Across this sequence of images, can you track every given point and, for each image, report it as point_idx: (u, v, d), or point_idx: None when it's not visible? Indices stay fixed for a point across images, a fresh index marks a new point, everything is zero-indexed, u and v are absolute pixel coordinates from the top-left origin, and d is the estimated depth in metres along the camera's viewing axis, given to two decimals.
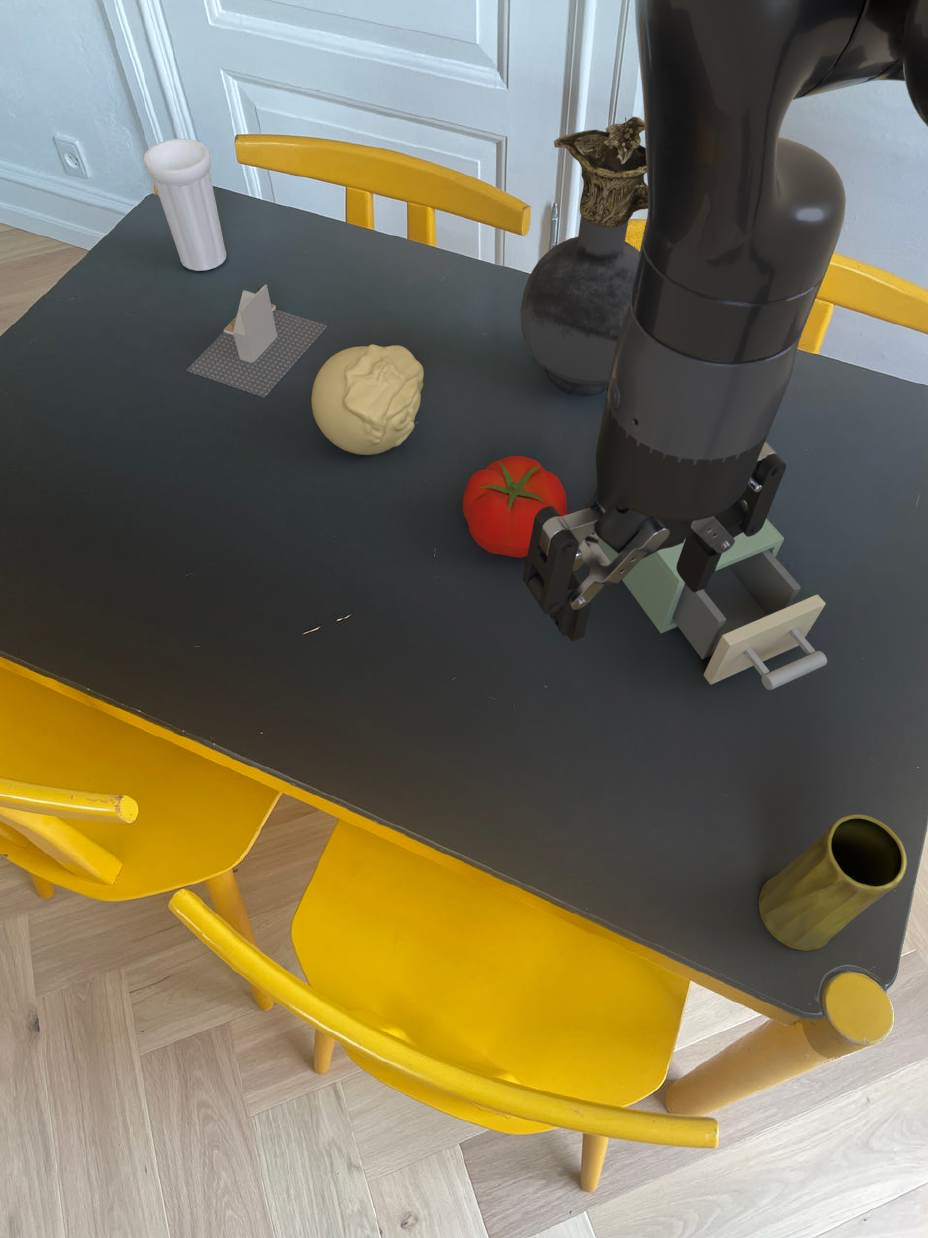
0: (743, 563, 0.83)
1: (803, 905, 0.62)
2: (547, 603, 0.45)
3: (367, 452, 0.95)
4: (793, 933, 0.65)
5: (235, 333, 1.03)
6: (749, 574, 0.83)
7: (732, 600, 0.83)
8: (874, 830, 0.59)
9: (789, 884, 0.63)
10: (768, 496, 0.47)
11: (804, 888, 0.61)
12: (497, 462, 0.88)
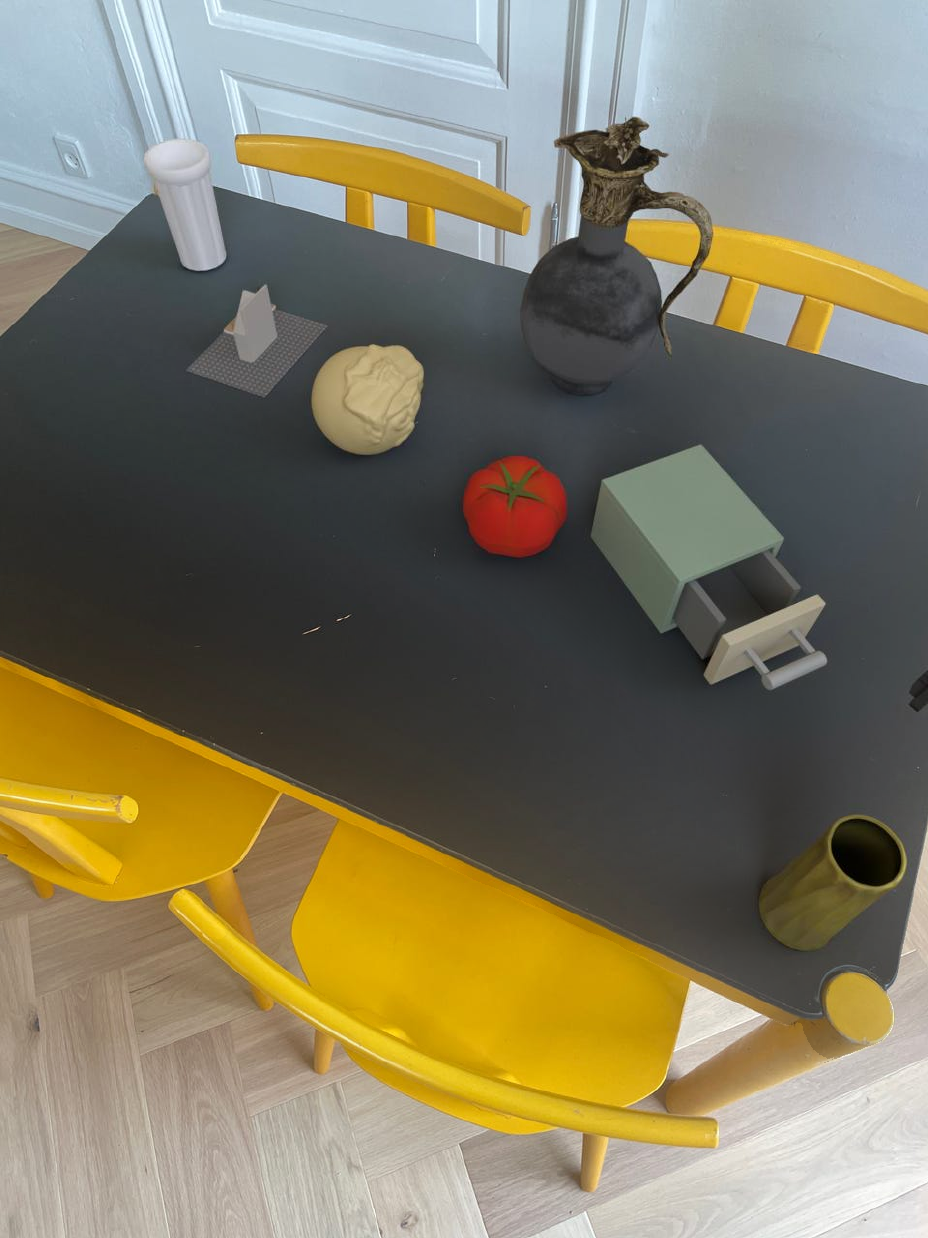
0: (743, 563, 0.83)
1: (803, 905, 0.62)
2: None
3: (367, 452, 0.95)
4: (793, 933, 0.65)
5: (235, 333, 1.03)
6: (749, 574, 0.83)
7: (732, 600, 0.83)
8: (874, 830, 0.59)
9: (789, 884, 0.63)
10: None
11: (804, 888, 0.61)
12: (497, 462, 0.88)
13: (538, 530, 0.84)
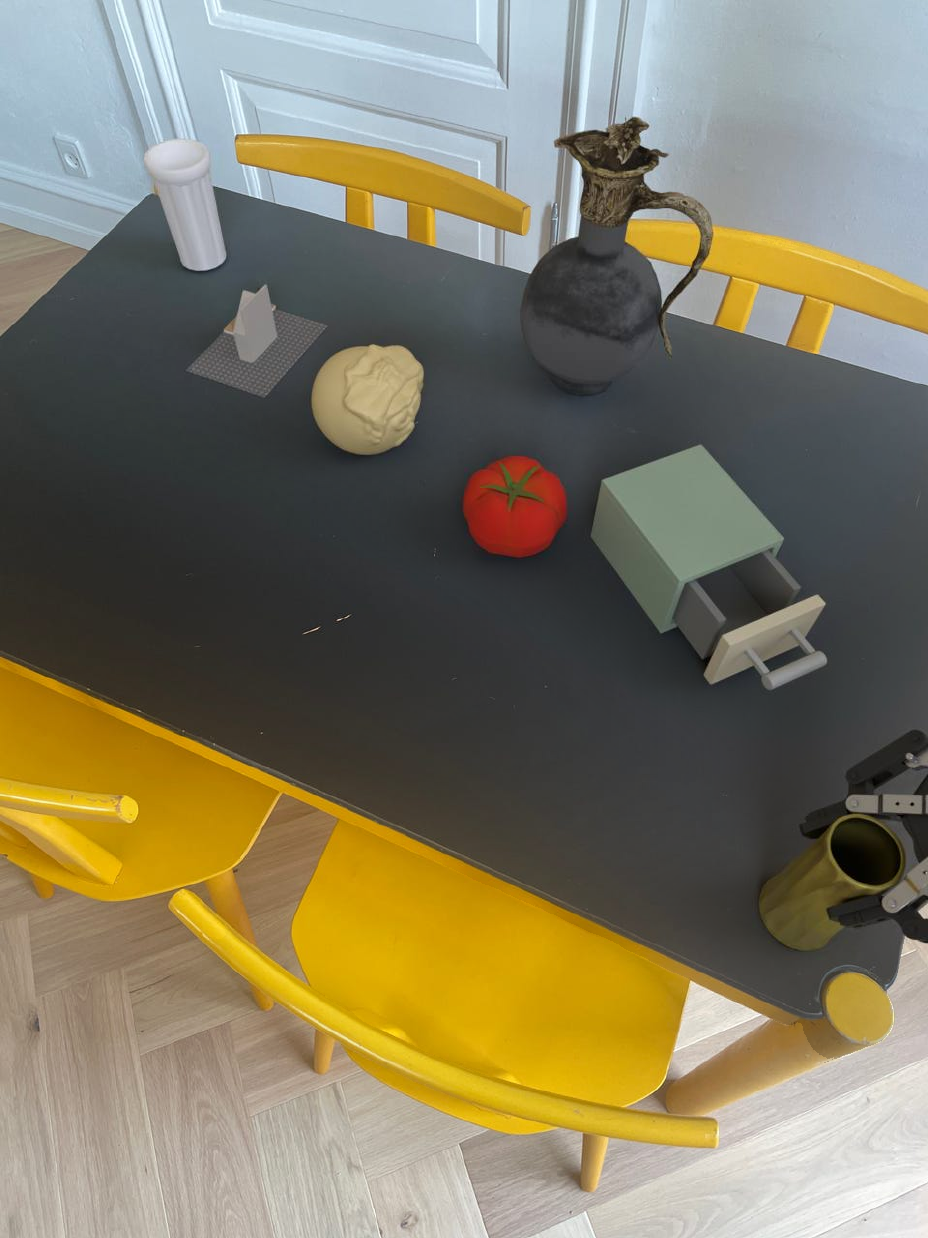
0: (743, 563, 0.83)
1: (803, 905, 0.62)
2: (859, 767, 0.60)
3: (367, 452, 0.95)
4: (793, 933, 0.65)
5: (235, 333, 1.03)
6: (749, 574, 0.83)
7: (732, 600, 0.83)
8: (874, 829, 0.59)
9: (789, 884, 0.63)
10: None
11: (804, 888, 0.61)
12: (497, 462, 0.88)
13: (538, 530, 0.84)
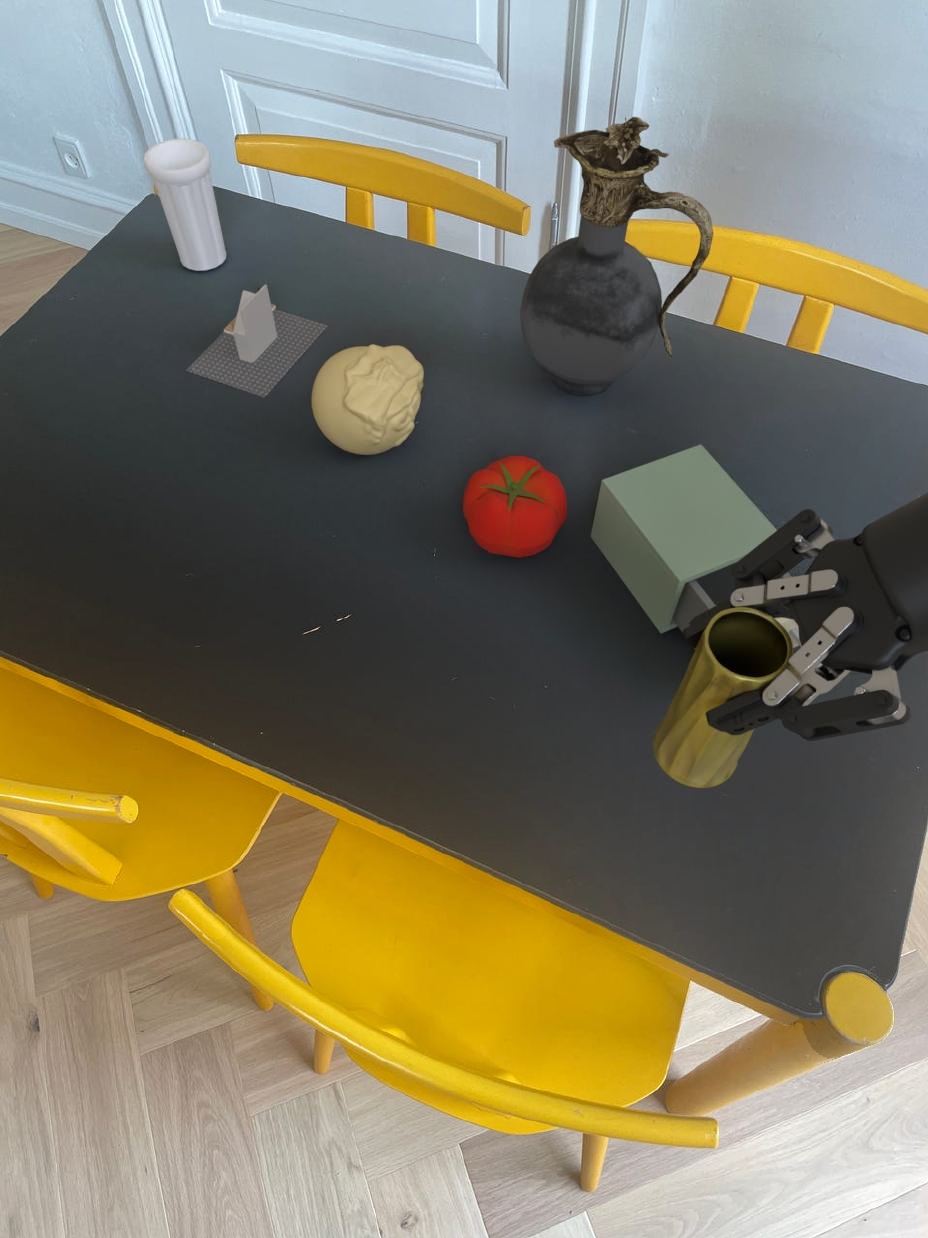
0: None
1: (688, 722, 0.55)
2: (746, 559, 0.53)
3: (367, 452, 0.95)
4: (685, 765, 0.59)
5: (235, 333, 1.03)
6: None
7: None
8: (761, 626, 0.52)
9: (676, 703, 0.57)
10: (842, 710, 0.45)
11: (687, 700, 0.54)
12: (497, 462, 0.88)
13: (538, 530, 0.84)
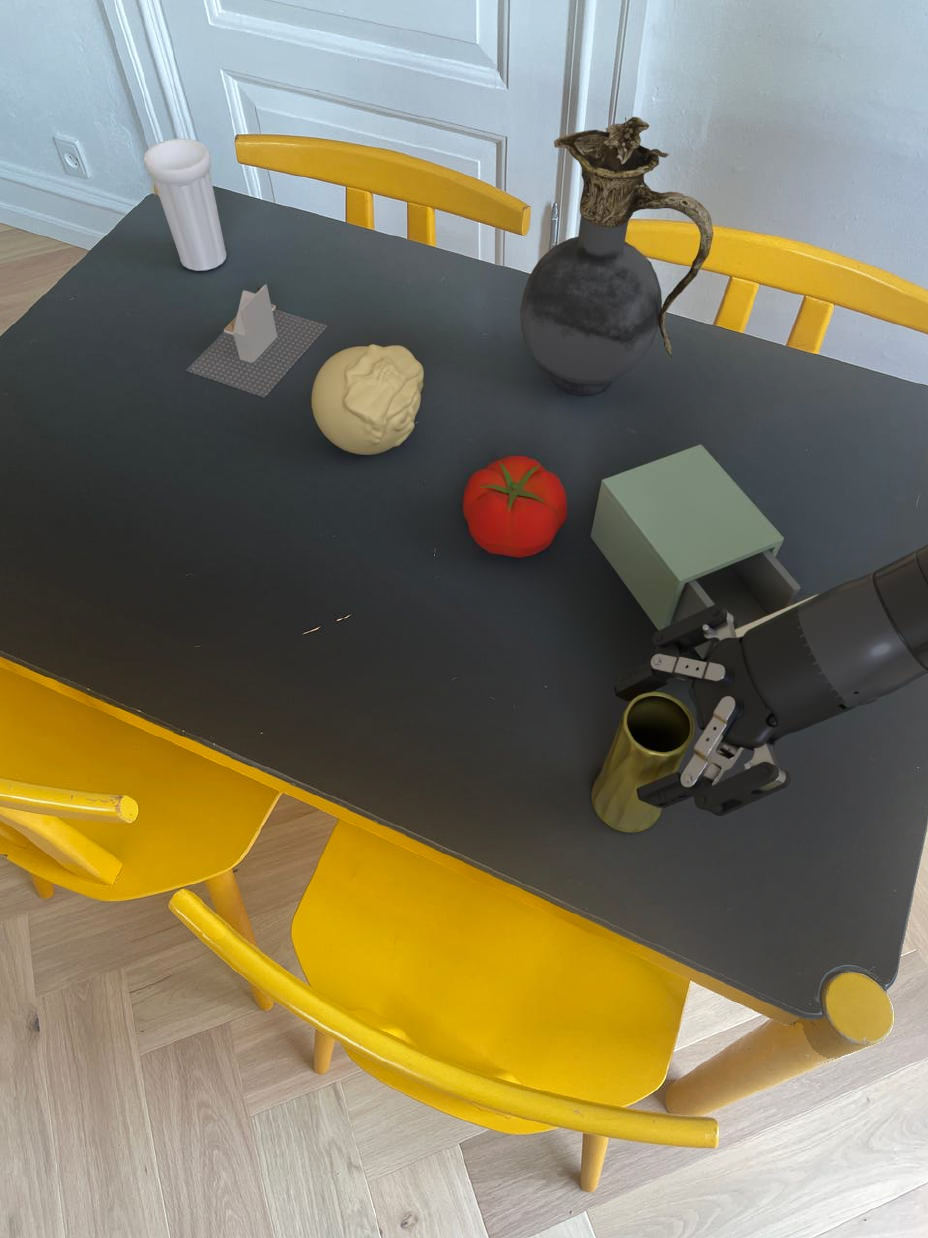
0: (743, 563, 0.83)
1: (615, 782, 0.67)
2: (664, 629, 0.65)
3: (367, 452, 0.95)
4: (615, 814, 0.71)
5: (235, 333, 1.03)
6: (749, 574, 0.83)
7: (732, 600, 0.83)
8: (672, 707, 0.64)
9: (607, 765, 0.69)
10: (738, 784, 0.56)
11: (614, 765, 0.66)
12: (497, 462, 0.88)
13: (538, 530, 0.84)
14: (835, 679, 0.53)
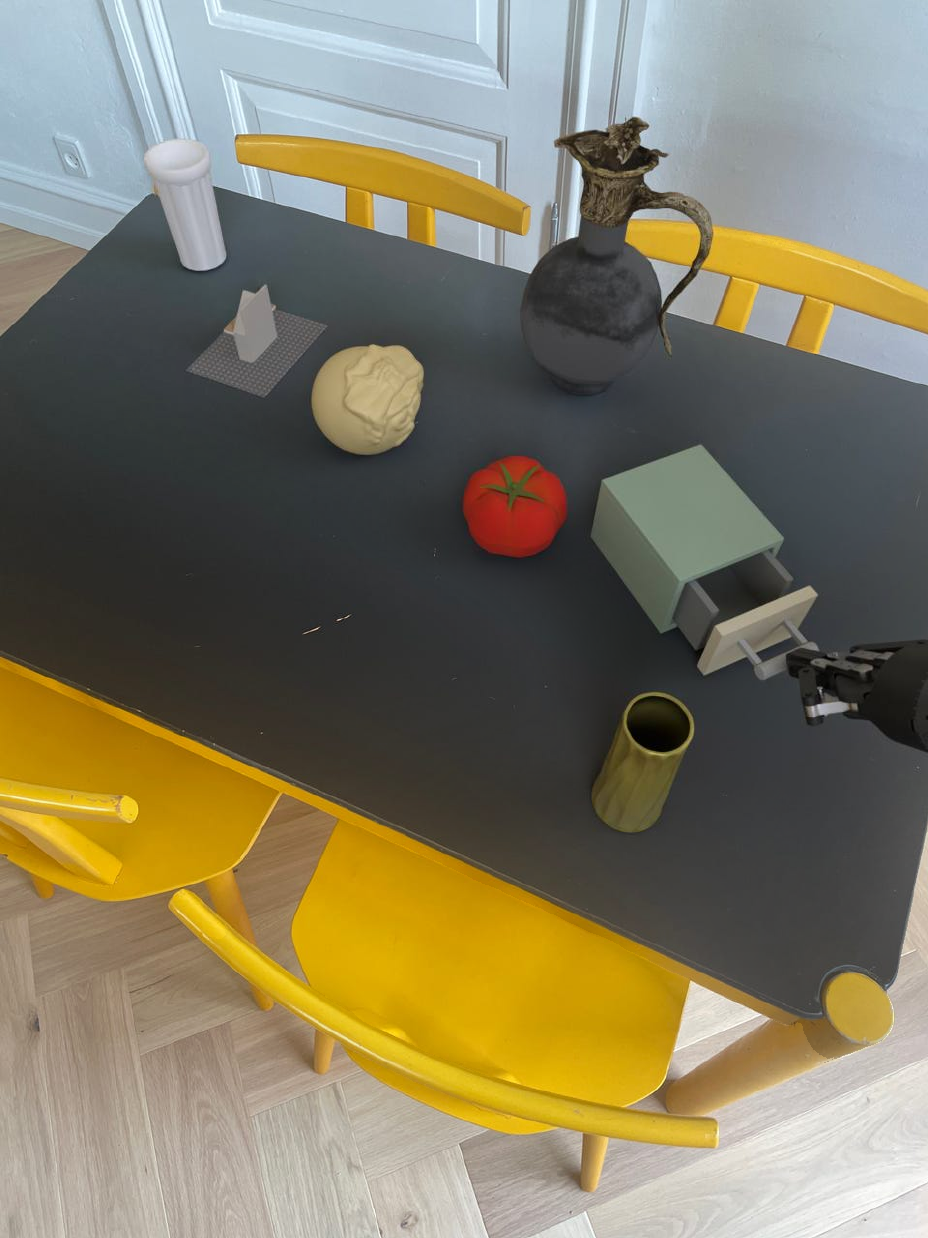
0: None
1: (615, 782, 0.67)
2: (866, 646, 0.71)
3: (367, 452, 0.95)
4: (615, 814, 0.71)
5: (235, 333, 1.03)
6: (742, 566, 0.83)
7: (725, 592, 0.84)
8: (671, 707, 0.64)
9: (606, 765, 0.69)
10: (806, 684, 0.67)
11: (614, 765, 0.66)
12: (497, 462, 0.88)
13: (538, 530, 0.84)
14: (925, 693, 0.58)
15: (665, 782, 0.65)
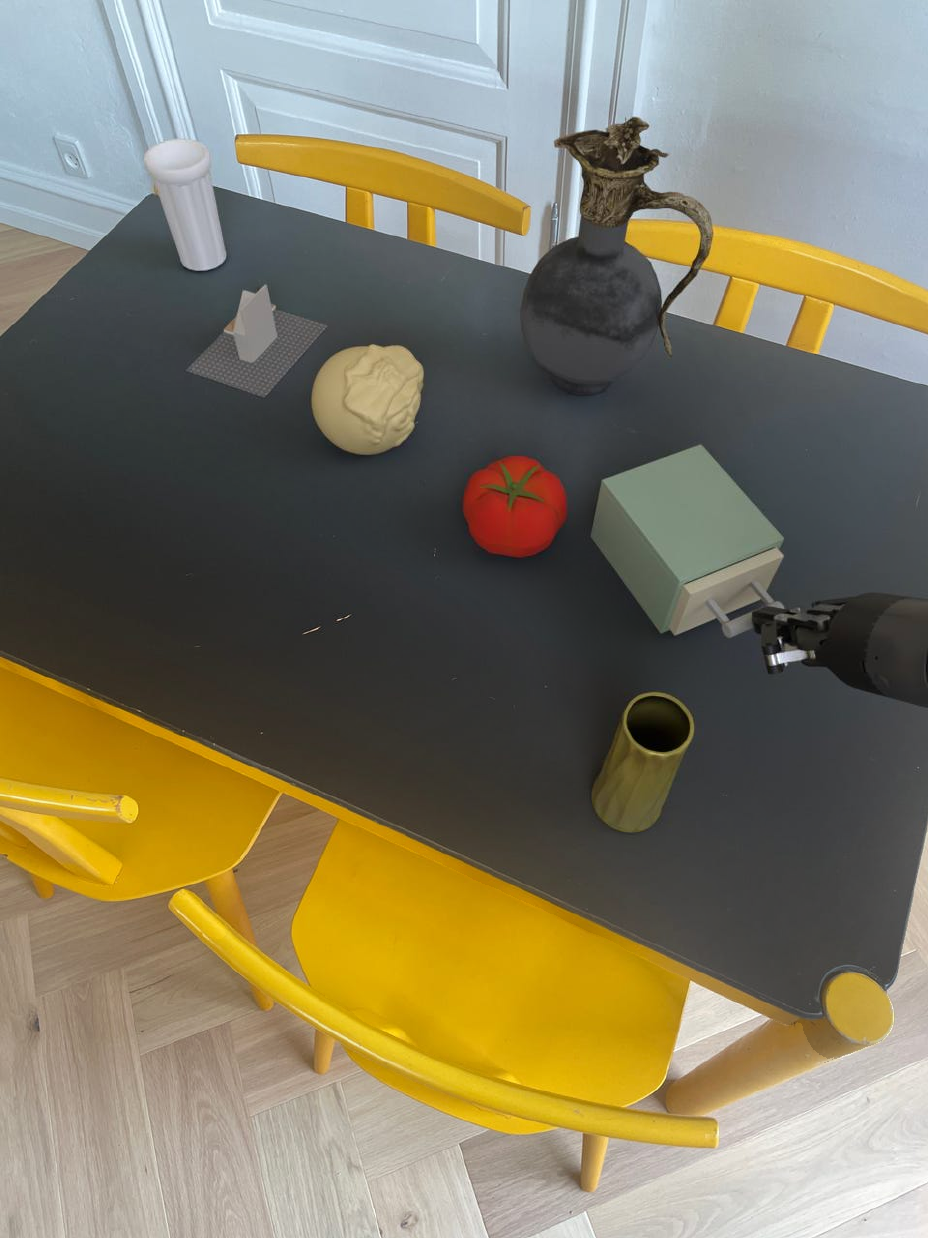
0: None
1: (615, 782, 0.67)
2: (827, 602, 0.73)
3: (367, 452, 0.95)
4: (615, 814, 0.71)
5: (235, 333, 1.03)
6: None
7: None
8: (671, 707, 0.64)
9: (606, 765, 0.69)
10: (767, 635, 0.70)
11: (614, 765, 0.66)
12: (497, 462, 0.88)
13: (538, 530, 0.84)
14: (874, 634, 0.60)
15: (665, 782, 0.65)
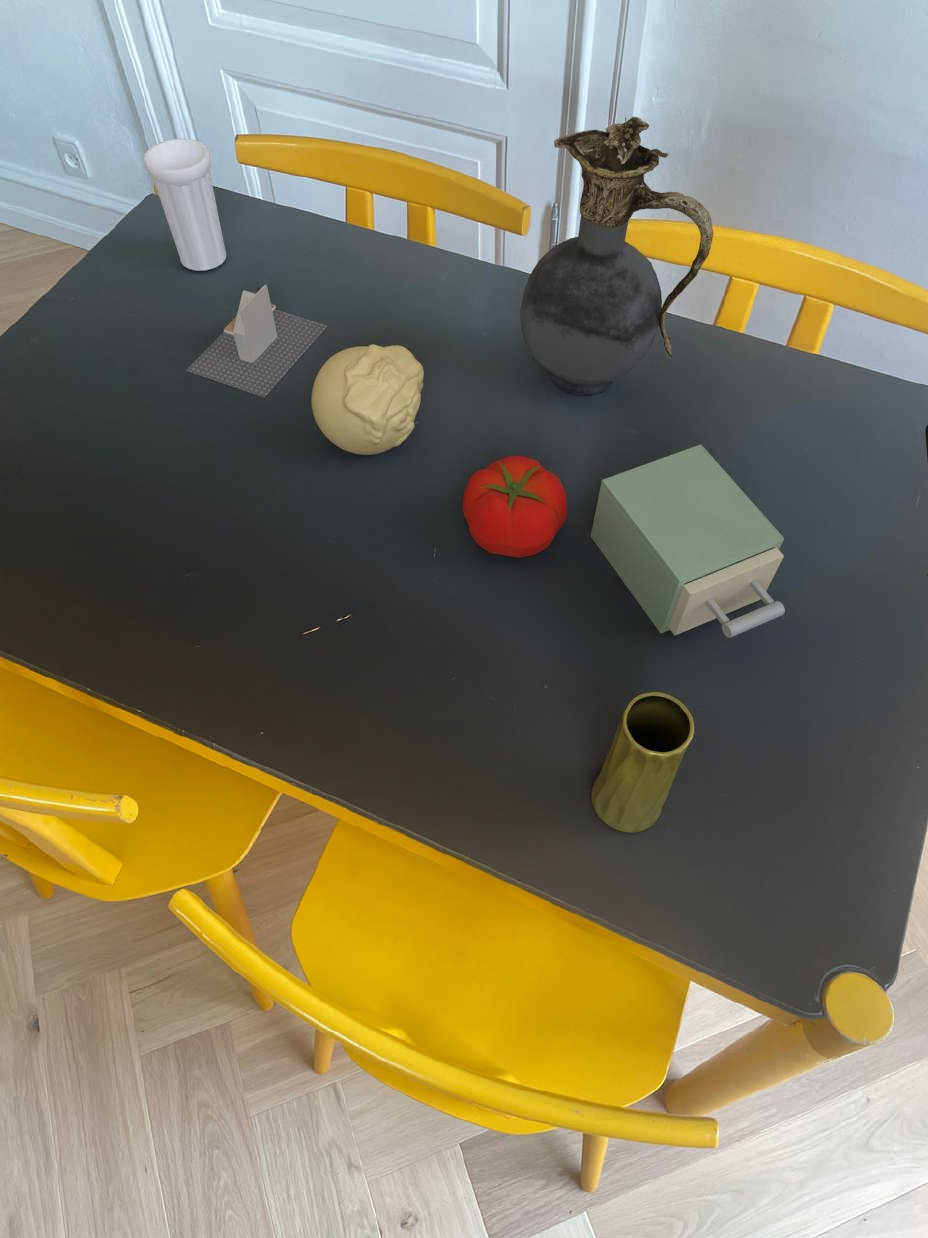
0: None
1: (615, 782, 0.67)
2: None
3: (367, 452, 0.95)
4: (615, 814, 0.71)
5: (235, 333, 1.03)
6: None
7: None
8: (671, 707, 0.64)
9: (606, 765, 0.69)
10: None
11: (614, 765, 0.66)
12: (497, 462, 0.88)
13: (538, 530, 0.84)
14: None
15: (665, 782, 0.65)
